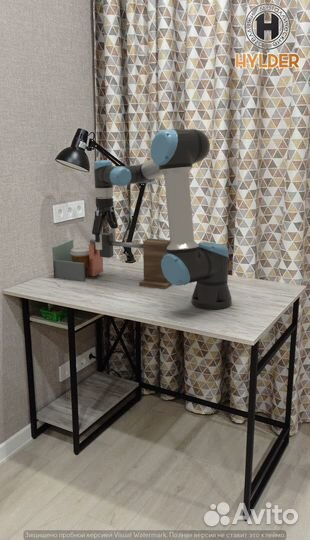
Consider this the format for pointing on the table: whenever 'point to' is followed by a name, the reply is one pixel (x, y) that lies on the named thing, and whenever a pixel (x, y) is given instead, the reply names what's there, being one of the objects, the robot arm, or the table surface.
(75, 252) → the disposable coffee cup
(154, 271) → the brown wooden flanged block
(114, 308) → the table surface
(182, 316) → the table surface
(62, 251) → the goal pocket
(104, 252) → the player rod
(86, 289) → the table surface
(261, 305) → the table surface
